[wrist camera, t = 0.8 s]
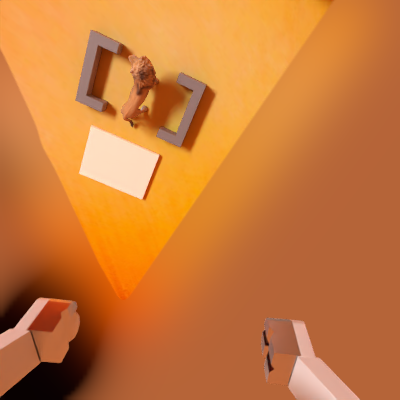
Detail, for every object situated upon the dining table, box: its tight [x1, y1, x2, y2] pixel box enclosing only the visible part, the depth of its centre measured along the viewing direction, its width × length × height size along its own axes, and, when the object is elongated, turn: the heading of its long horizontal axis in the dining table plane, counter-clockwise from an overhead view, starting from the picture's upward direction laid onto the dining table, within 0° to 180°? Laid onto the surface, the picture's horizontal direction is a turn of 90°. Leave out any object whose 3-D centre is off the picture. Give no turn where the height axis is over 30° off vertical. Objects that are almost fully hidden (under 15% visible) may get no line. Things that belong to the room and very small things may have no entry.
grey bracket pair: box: [76, 30, 206, 147], centre depth 46 cm, size 11×19×2 cm, turn 66°
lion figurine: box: [121, 55, 159, 127], centre depth 44 cm, size 12×4×7 cm, turn 159°
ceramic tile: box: [79, 125, 160, 199], centre depth 53 cm, size 10×13×1 cm
